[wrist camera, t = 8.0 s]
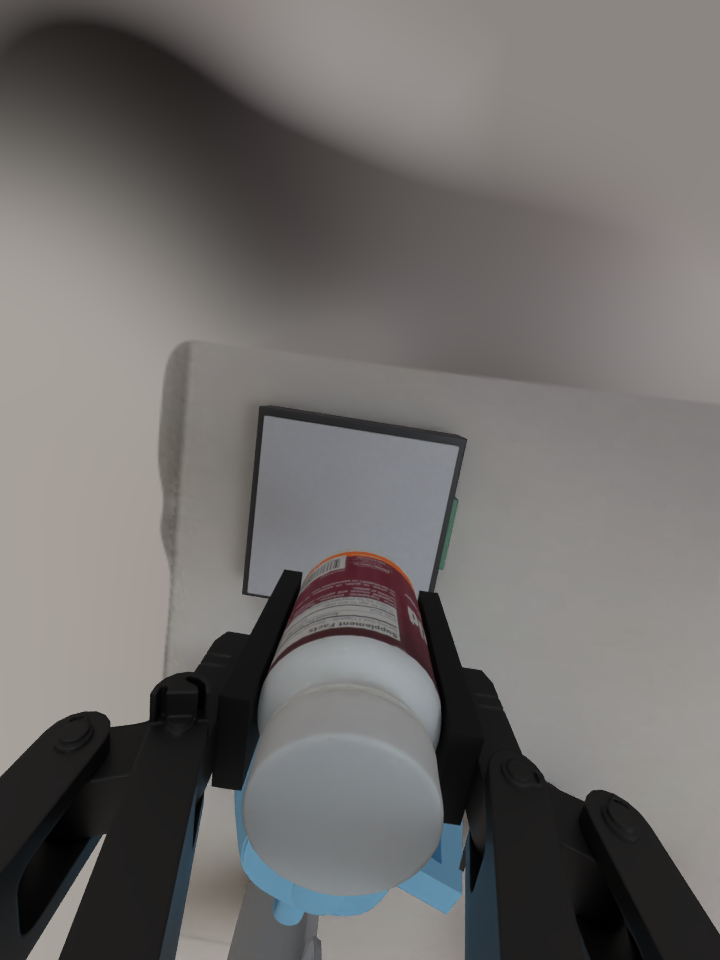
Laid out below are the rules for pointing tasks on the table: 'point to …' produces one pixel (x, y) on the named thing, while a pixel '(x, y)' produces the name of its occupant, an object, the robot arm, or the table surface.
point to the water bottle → (271, 932)
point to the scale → (348, 495)
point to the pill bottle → (348, 734)
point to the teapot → (430, 885)
